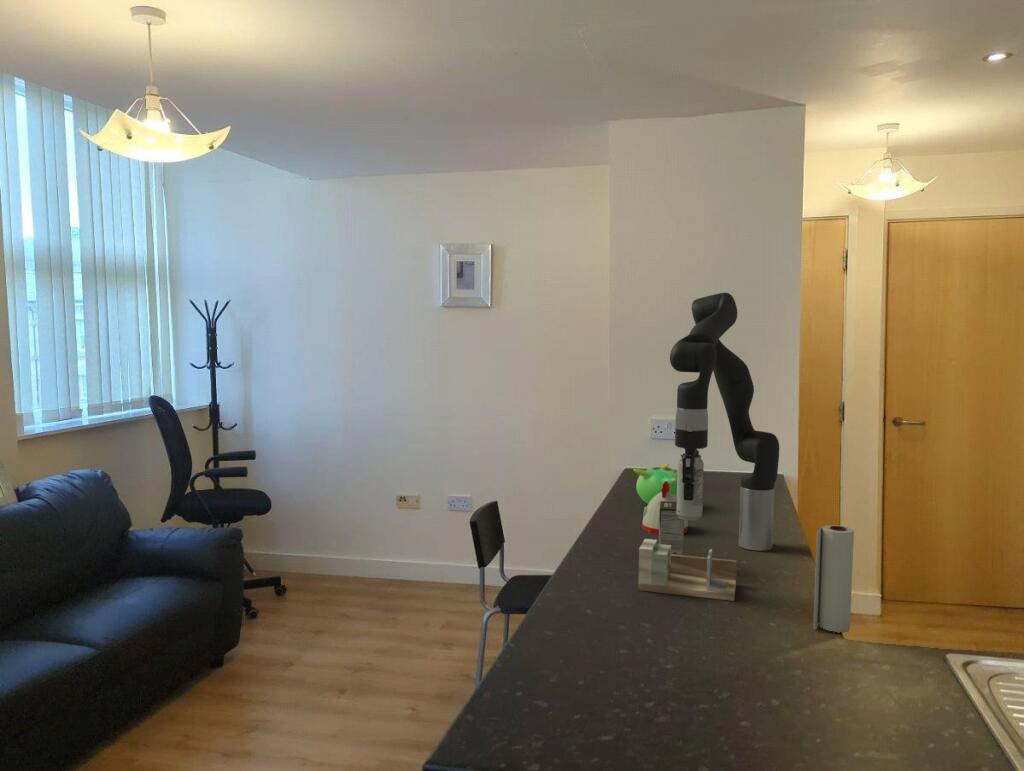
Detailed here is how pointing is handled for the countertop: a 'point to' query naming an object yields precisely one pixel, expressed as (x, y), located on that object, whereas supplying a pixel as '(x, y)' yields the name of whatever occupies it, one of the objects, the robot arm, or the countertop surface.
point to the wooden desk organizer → (685, 573)
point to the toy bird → (655, 481)
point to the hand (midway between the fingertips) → (689, 496)
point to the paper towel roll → (833, 578)
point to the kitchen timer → (658, 510)
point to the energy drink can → (694, 507)
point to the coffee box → (671, 527)
